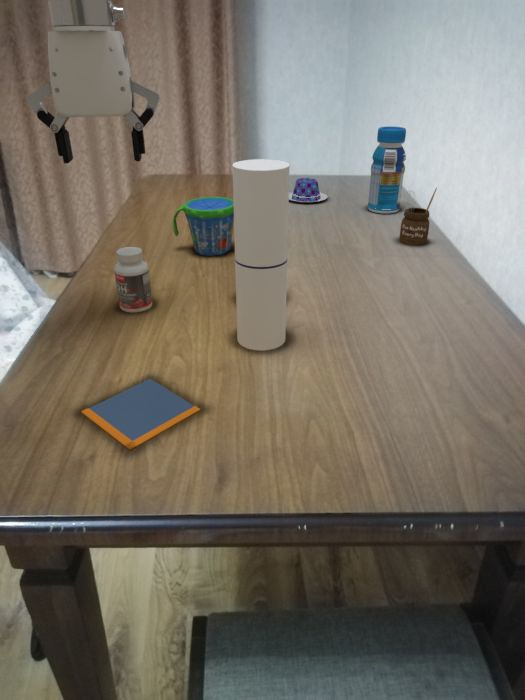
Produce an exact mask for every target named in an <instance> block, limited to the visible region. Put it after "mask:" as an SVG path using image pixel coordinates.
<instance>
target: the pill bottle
mask: <svg viewBox="0 0 525 700" xmlns="http://www.w3.org/2000/svg"><path fill="white" fill-rule="evenodd" d="M143 259H144V255H143V250H142V248H141V247H138V246H126V247H121V248H118V249H117V250H116V260H117V263H116V264H115V266H114V267H113V268H114V277H115V284H116V291H117V298H118V304H119V308H120V309H121V310H122V311H123V312H127V313H142V312H145V311H148V310H150V309H151V308H152V306H153V296H152V295H153V294H152V286H151V276H150V268H149V264H148V263H147V262H146V261H145V260H143Z"/></svg>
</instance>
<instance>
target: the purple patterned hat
mask: <svg viewBox="0 0 525 700" xmlns="http://www.w3.org/2000/svg"><path fill="white" fill-rule="evenodd" d="M293 194H296V195H298V196H305V197H311V196H317V195H318V194H320V196H318V197H315V198H313V197H312V198H299V197H296V196H293ZM326 199H328V195H327V194H325V193H322V192H321V191H320V187H319V182H318V180H317V179H315V178H312V177H301V178H298V179H296V181H295V183H294V187H293V191H291V192H290V191H289V201H293V202H296V203H306V204H307V203H316V202H322V201H324V200H325V201H326Z"/></svg>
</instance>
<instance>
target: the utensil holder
mask: <svg viewBox="0 0 525 700" xmlns="http://www.w3.org/2000/svg"><path fill="white" fill-rule="evenodd" d="M437 189H438V187H437V186H436V187H435V189H434V192H433V194H432V196H431V198H430V200H429V203H428V205H427V208H422V207H416V202H413V206H412V207H408V206H409V204H408V203H406V204H405V207H406V209H405V210H404V211H403V212H404V213H403V216H404V217H403V218H402V220H401V223H400V229H399V230H400V231H399V242H400V243H401V244H403V245H406V246H411V247H420V246H424V245H426V243H427V241H428V237H429V230H430V220H429V217H430V211H429V208H430V207H431V205H432V202H433V200H434V197H435V195H436V192H437ZM408 192H409V195H408V196H409V197H408V198H409V200H411V196H413V197H412V198H413V199H416V197H417V196H416V194H415V191H411V190H408V191H406V192H405V193H404V194H405V195H407V194H408ZM411 193H412V194H414V195H411Z"/></svg>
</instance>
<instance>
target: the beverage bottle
mask: <svg viewBox="0 0 525 700" xmlns="http://www.w3.org/2000/svg"><path fill="white" fill-rule="evenodd" d="M376 135H377V137H376V142H377V143H378V145H377V147H376V148H375V149H374V151H373V154H372V157H371V158H372V163H371V166H370V178H369V179H370V180H369V191H368V201H367V209H368V210H369V211H370V212H372V213H376V214H383V215H384V214H395V213H398V212H399V211H400V207H401V198H402V189H403V182H404V174H405V171H406V166H405V161H406V160H407V154H406V150H405V149H404V146H403V144H405V141H406V136H407V129H406V127H402V126H379V128H378V129H377V134H376ZM368 205H369V206H370V207H369V206H368ZM375 208H376V209H375ZM396 208H397V209H396ZM382 209H391V210H382Z"/></svg>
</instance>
